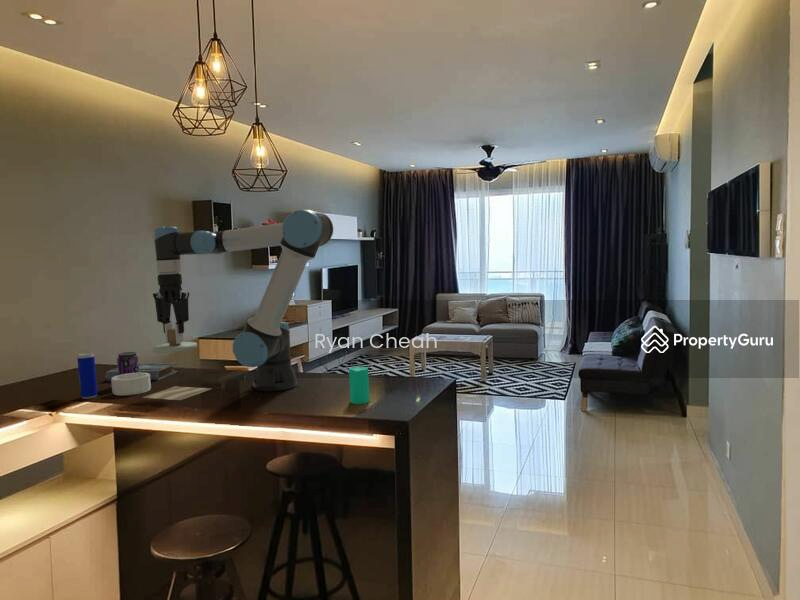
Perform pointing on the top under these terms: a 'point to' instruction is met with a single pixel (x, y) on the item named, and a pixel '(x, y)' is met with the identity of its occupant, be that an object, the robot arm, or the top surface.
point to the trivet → (177, 393)
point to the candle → (359, 385)
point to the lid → (174, 344)
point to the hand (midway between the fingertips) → (174, 342)
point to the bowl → (131, 383)
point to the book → (149, 370)
